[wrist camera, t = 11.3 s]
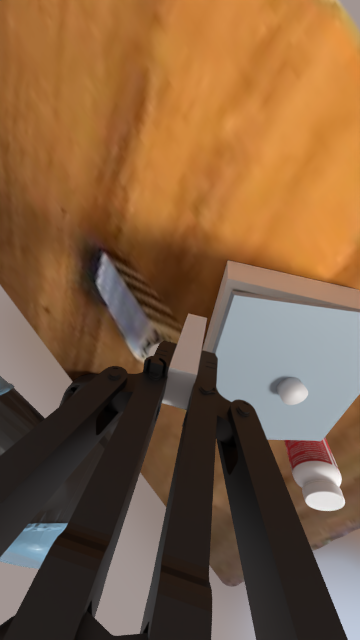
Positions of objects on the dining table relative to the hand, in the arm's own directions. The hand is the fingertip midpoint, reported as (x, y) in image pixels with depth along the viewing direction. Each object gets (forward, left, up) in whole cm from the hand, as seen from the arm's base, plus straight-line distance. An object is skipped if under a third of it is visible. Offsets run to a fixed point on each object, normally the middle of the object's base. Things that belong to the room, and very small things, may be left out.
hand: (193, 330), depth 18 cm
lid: (+10, -5, -3) cm, 12 cm away
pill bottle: (+22, -22, -14) cm, 34 cm away
